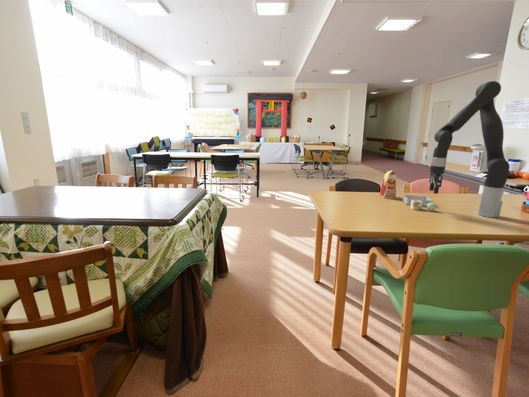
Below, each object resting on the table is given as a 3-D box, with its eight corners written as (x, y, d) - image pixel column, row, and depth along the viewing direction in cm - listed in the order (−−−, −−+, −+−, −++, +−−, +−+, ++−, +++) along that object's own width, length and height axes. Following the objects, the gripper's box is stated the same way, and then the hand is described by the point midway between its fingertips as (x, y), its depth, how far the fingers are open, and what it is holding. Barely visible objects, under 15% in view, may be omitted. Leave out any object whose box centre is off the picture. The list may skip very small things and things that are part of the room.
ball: (433, 209, 181) (435, 202, 179) (436, 212, 176) (437, 204, 175) (425, 209, 182) (426, 201, 181) (427, 211, 177) (428, 203, 176)
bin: (426, 201, 200) (426, 196, 199) (431, 206, 188) (432, 200, 187) (402, 200, 204) (402, 194, 203) (406, 204, 191) (407, 198, 190)
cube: (418, 208, 184) (420, 200, 183) (421, 210, 180) (422, 202, 178) (410, 207, 185) (411, 199, 184) (412, 209, 181) (413, 201, 180)
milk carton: (396, 198, 208) (400, 170, 203) (383, 198, 208) (387, 170, 204) (391, 195, 217) (394, 168, 212) (378, 195, 217) (382, 168, 212)
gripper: (449, 167, 165) (444, 195, 169) (441, 164, 178) (436, 190, 182) (434, 166, 167) (430, 194, 170) (427, 163, 180) (423, 189, 184)
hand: (433, 192), depth 176 cm, fingers open, 8 cm apart
